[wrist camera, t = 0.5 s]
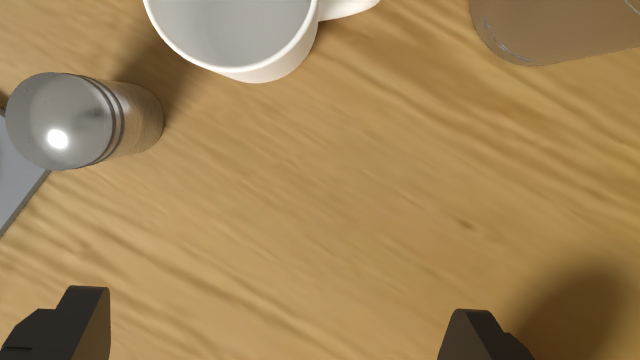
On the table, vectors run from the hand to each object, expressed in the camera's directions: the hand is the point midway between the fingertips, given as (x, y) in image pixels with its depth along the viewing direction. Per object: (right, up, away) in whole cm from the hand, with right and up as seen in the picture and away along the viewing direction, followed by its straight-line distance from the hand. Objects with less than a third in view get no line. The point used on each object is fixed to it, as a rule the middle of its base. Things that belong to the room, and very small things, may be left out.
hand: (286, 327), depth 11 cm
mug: (-2, +14, +21) cm, 25 cm away
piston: (-12, +8, +22) cm, 26 cm away
